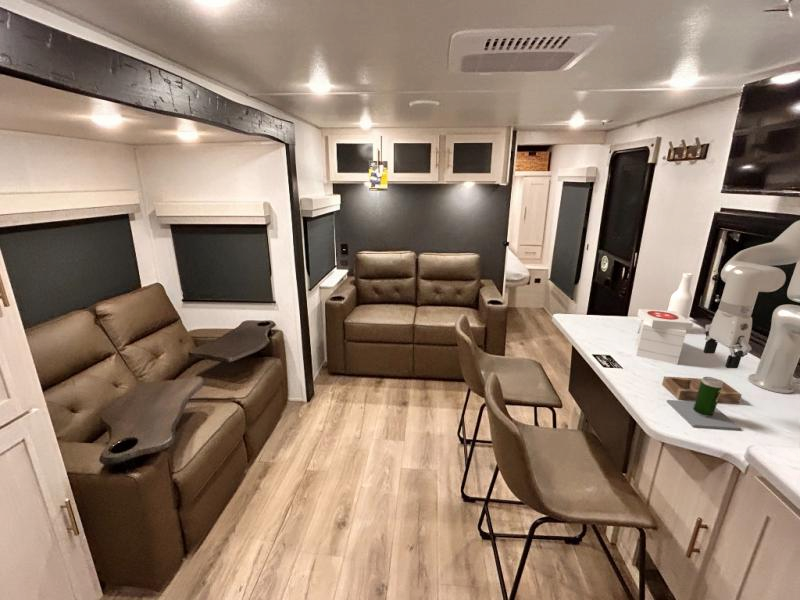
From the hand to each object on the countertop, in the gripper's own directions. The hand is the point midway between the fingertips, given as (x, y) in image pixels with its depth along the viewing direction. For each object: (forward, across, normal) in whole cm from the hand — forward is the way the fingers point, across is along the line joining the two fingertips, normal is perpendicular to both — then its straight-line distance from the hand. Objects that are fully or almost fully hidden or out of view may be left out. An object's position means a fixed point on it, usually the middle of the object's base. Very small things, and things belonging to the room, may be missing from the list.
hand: (719, 360), depth 117 cm
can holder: (+20, +14, -7) cm, 26 cm away
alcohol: (+22, +78, -35) cm, 88 cm away
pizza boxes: (+21, +52, -12) cm, 57 cm away
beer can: (+19, 0, 0) cm, 19 cm away
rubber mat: (+20, 0, +1) cm, 20 cm away
